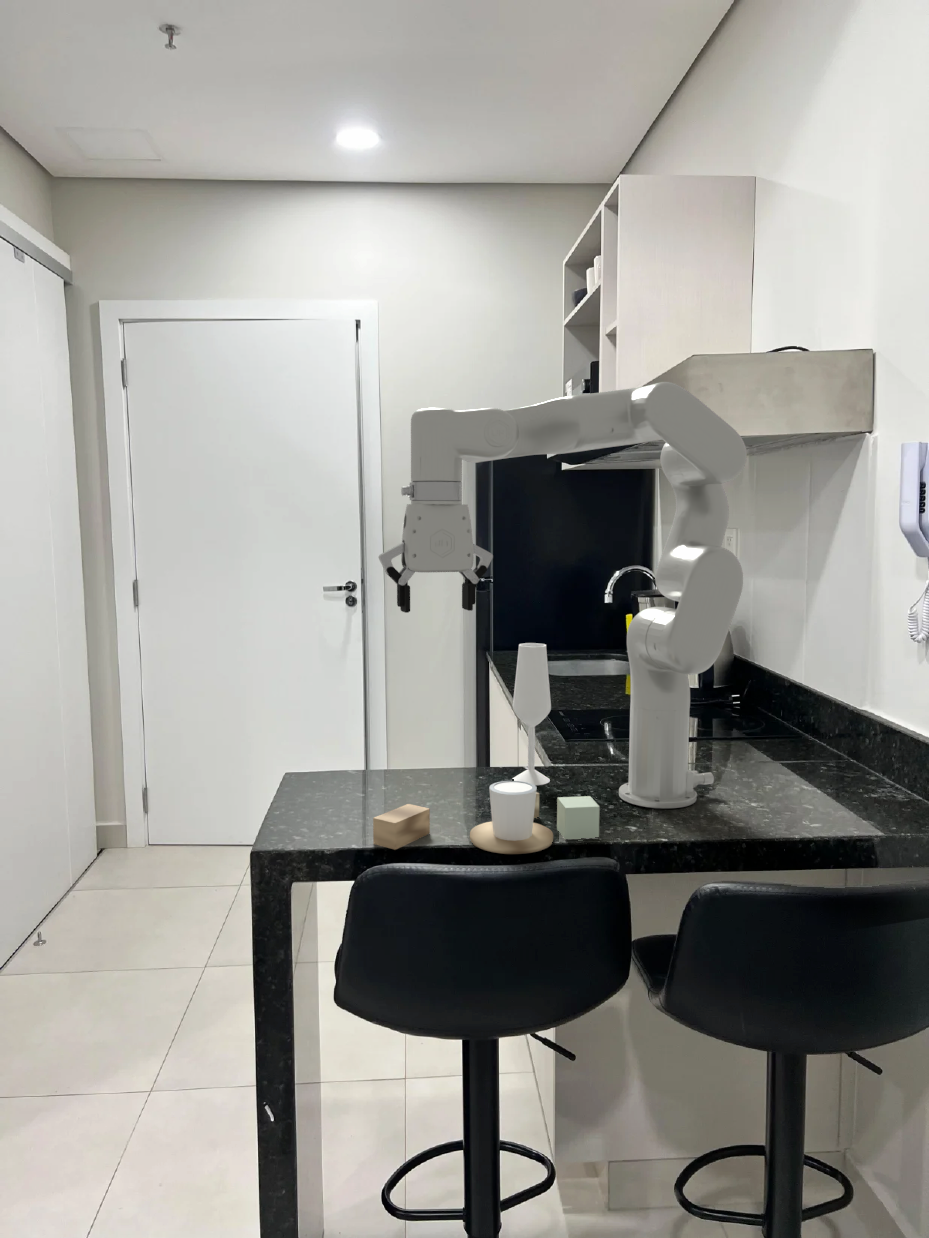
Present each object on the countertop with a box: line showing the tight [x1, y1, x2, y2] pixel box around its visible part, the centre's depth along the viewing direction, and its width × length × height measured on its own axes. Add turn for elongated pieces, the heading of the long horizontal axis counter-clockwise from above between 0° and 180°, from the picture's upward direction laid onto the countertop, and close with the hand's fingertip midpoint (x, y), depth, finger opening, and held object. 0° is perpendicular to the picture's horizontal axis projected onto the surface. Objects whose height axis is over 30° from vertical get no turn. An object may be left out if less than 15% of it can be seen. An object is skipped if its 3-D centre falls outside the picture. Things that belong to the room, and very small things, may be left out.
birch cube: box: [534, 791, 540, 819], centre depth 146 cm, size 4×4×4 cm
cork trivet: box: [469, 820, 554, 855], centre depth 136 cm, size 12×12×1 cm
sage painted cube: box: [556, 795, 600, 840], centre depth 138 cm, size 5×5×5 cm
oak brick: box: [372, 803, 431, 851], centre depth 136 cm, size 8×4×4 cm, turn 145°
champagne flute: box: [512, 642, 552, 786], centre depth 164 cm, size 7×7×24 cm
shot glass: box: [488, 780, 538, 841], centre depth 135 cm, size 7×7×7 cm
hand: (436, 610), depth 140 cm, fingers open, 9 cm apart
